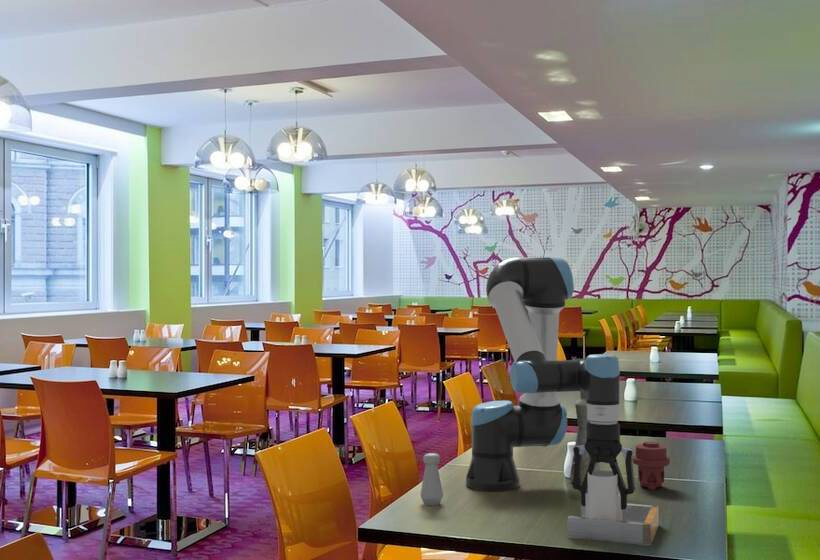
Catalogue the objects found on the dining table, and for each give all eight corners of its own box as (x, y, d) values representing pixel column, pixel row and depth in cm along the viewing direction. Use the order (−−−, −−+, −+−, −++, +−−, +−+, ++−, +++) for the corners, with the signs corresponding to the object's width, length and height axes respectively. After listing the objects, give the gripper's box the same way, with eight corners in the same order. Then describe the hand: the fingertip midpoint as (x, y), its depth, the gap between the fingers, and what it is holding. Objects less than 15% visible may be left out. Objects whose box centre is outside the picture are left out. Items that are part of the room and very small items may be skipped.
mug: (618, 530, 193) (617, 477, 193) (587, 529, 195) (587, 476, 195) (617, 518, 203) (616, 467, 203) (588, 517, 205) (587, 466, 205)
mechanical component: (668, 483, 244) (671, 491, 234) (631, 482, 246) (633, 490, 236) (667, 439, 244) (671, 446, 234) (631, 438, 246) (633, 445, 236)
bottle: (582, 487, 240) (581, 387, 240) (563, 480, 248) (563, 383, 248) (608, 484, 244) (607, 385, 244) (589, 477, 252) (588, 382, 252)
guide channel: (567, 537, 194) (567, 517, 194) (582, 518, 209) (581, 499, 209) (650, 546, 187) (650, 525, 187) (658, 525, 203) (658, 506, 203)
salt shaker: (427, 507, 220) (426, 457, 220) (416, 502, 225) (416, 453, 225) (447, 505, 223) (446, 454, 223) (436, 500, 228) (435, 450, 228)
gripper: (557, 422, 199) (558, 521, 199) (644, 426, 192) (645, 530, 192) (564, 417, 206) (565, 513, 206) (648, 421, 199) (649, 521, 199)
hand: (604, 521), depth 199 cm, fingers closed on mug, 6 cm apart
